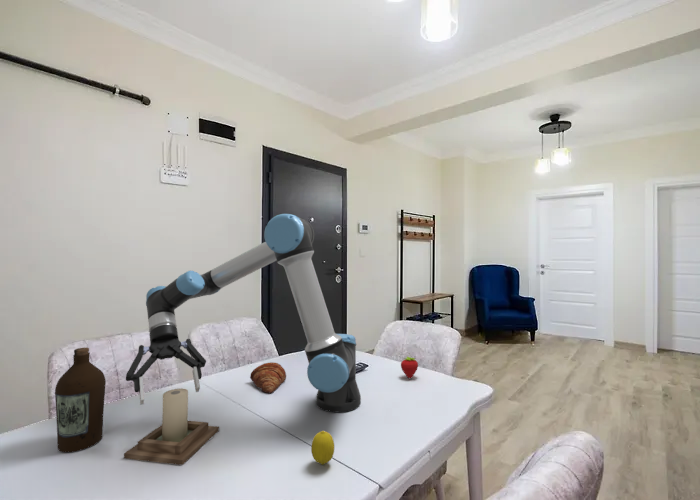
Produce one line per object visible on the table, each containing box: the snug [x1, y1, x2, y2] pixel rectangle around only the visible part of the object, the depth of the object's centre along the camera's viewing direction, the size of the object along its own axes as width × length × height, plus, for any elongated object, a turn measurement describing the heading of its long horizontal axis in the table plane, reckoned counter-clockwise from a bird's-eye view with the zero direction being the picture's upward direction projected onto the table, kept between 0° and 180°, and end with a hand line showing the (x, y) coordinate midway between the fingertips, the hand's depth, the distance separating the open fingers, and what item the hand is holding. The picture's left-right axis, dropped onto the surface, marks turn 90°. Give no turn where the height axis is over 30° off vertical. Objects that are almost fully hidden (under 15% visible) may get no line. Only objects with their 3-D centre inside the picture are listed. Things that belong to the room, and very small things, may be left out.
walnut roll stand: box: [123, 420, 220, 466], centre depth 91 cm, size 16×16×3 cm
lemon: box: [310, 430, 335, 465], centre depth 82 cm, size 6×6×8 cm
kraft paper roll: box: [161, 387, 189, 442], centre depth 91 cm, size 6×6×12 cm
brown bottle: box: [54, 347, 107, 454], centre depth 91 cm, size 11×11×25 cm
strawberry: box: [400, 354, 419, 379], centre depth 139 cm, size 6×8×10 cm
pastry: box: [249, 361, 287, 394], centre depth 133 cm, size 17×15×8 cm
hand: (171, 395), depth 93 cm, fingers open, 13 cm apart
